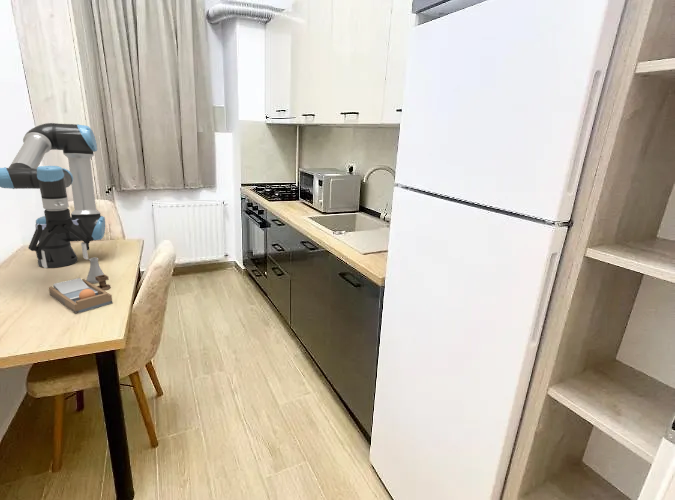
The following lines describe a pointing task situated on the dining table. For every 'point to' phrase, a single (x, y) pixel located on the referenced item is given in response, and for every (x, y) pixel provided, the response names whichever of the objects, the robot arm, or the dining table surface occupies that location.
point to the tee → (103, 282)
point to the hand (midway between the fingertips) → (66, 262)
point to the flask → (94, 271)
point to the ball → (86, 293)
